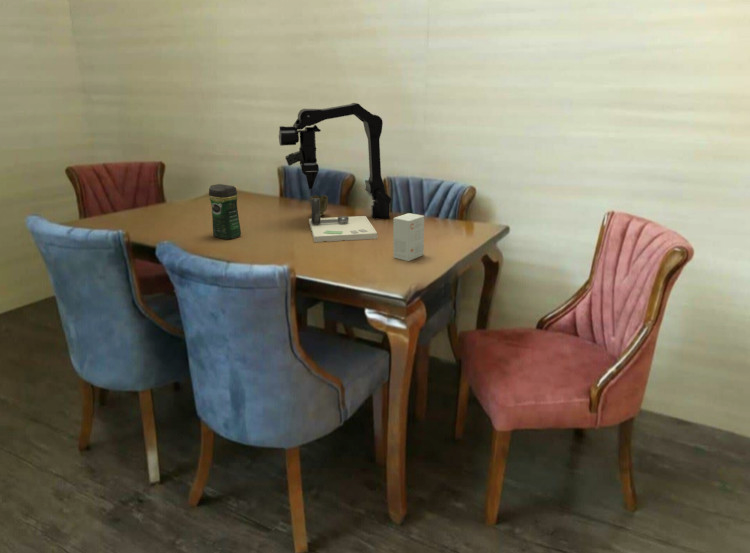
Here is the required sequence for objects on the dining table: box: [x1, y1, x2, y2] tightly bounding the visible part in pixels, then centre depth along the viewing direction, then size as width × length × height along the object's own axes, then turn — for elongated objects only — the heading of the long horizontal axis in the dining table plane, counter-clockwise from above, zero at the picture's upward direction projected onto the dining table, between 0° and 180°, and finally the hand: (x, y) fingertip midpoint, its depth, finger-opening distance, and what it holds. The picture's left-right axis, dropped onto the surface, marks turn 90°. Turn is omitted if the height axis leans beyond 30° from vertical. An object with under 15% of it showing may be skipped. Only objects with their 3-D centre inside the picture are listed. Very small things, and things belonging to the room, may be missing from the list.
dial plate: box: [308, 215, 378, 243], centre depth 210 cm, size 22×25×2 cm
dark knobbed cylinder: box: [310, 198, 350, 224], centre depth 210 cm, size 14×4×9 cm, turn 100°
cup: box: [309, 194, 329, 218], centre depth 230 cm, size 8×7×8 cm
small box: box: [392, 212, 425, 262], centre depth 179 cm, size 8×6×13 cm
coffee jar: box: [208, 183, 242, 240], centre depth 201 cm, size 10×8×19 cm
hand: (309, 186), depth 216 cm, fingers open, 9 cm apart
